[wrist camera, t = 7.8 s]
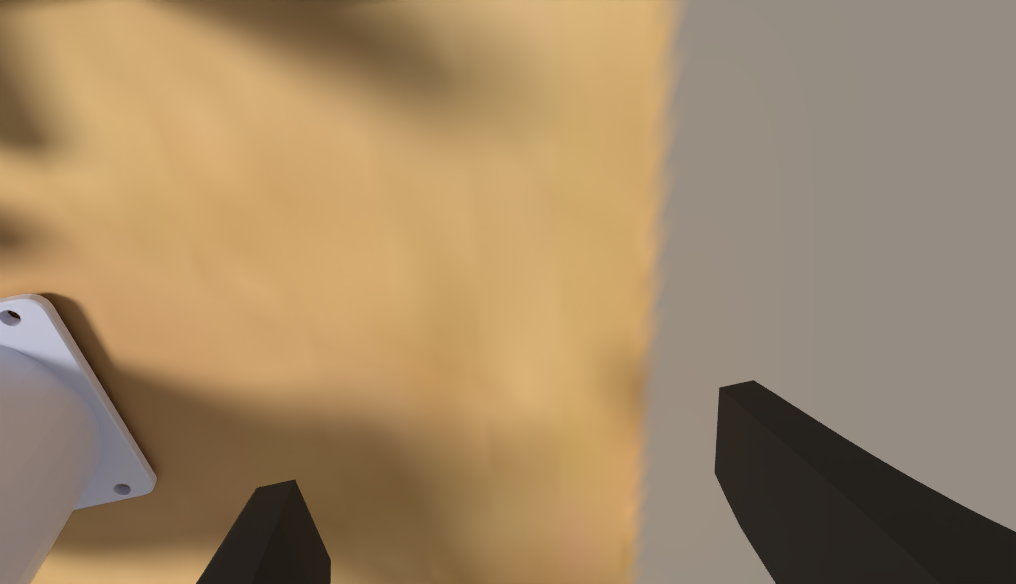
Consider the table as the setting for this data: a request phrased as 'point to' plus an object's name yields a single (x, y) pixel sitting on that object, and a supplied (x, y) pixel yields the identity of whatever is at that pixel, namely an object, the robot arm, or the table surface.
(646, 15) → the table surface
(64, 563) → the table surface
